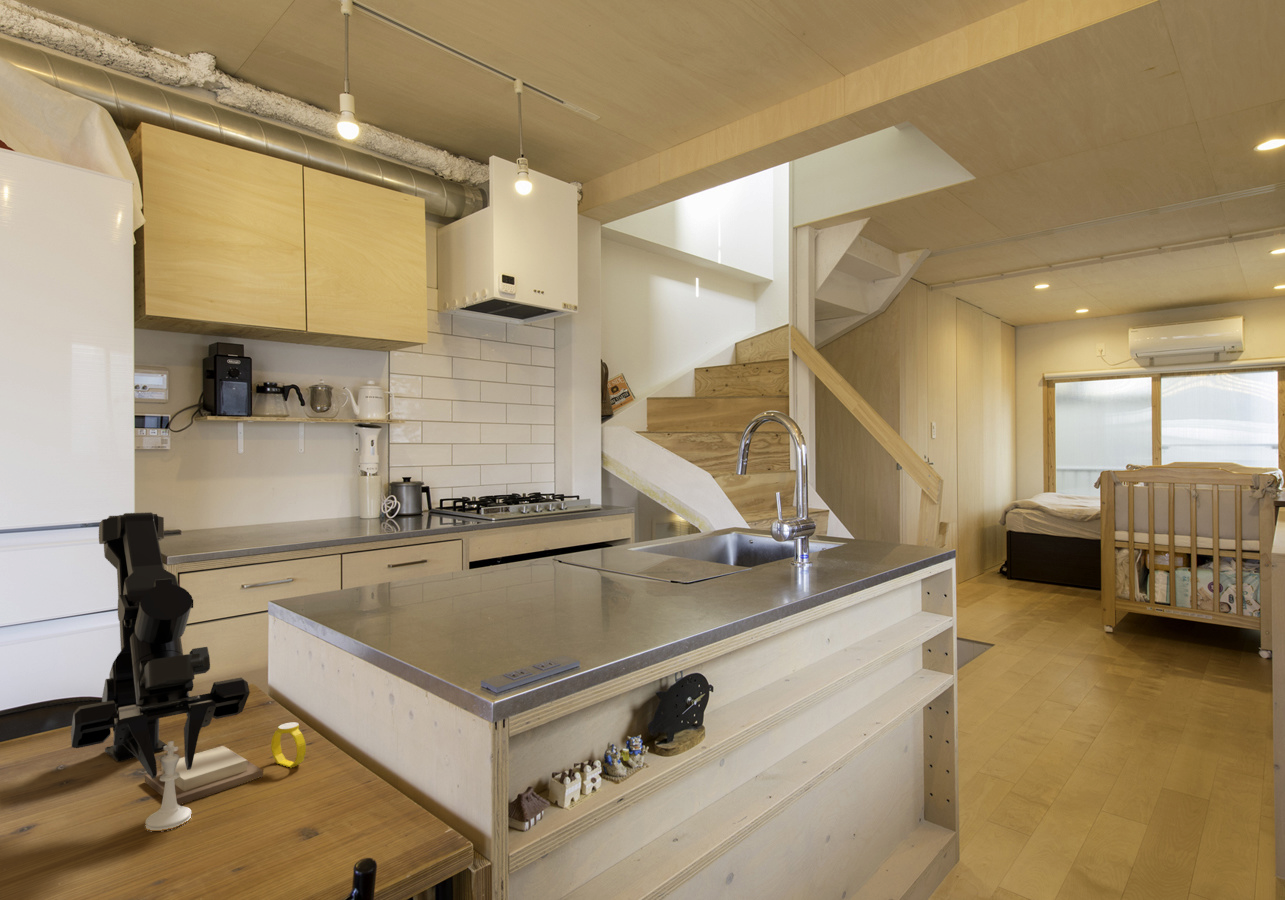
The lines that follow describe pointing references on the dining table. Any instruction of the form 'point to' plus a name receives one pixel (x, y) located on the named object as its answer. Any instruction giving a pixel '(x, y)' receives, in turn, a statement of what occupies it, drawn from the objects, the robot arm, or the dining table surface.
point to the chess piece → (169, 796)
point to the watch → (299, 741)
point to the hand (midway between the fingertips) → (172, 772)
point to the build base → (206, 787)
